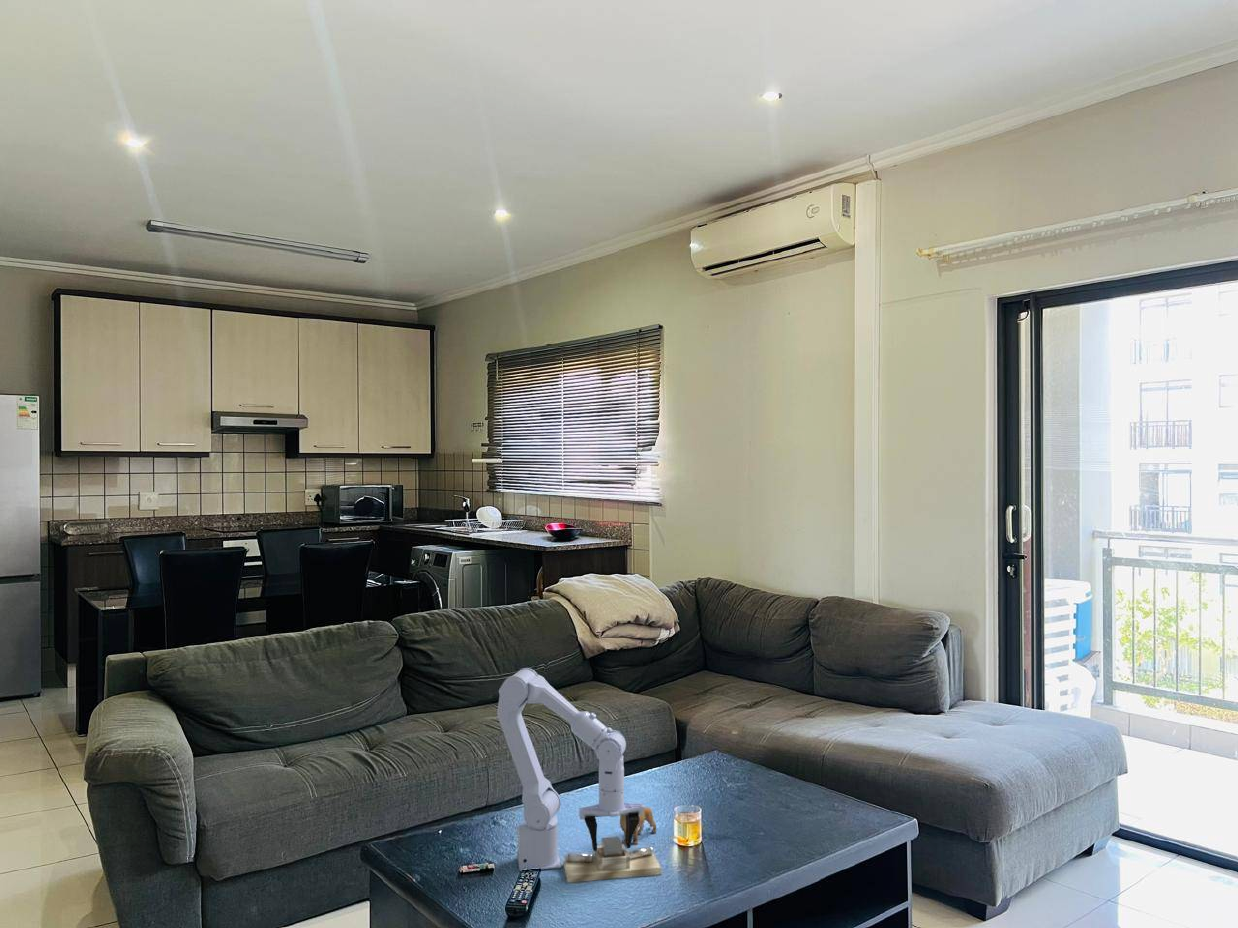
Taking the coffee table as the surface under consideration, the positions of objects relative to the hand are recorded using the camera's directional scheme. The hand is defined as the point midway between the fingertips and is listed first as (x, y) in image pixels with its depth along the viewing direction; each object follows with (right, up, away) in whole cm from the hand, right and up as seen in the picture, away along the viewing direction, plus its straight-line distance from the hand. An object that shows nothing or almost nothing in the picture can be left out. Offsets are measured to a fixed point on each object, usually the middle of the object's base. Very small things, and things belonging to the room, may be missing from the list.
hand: (611, 847), depth 199 cm
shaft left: (-7, -3, +1) cm, 8 cm away
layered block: (0, -3, 0) cm, 3 cm away
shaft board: (0, -5, 0) cm, 5 cm away
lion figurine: (+6, -5, +16) cm, 18 cm away
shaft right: (+7, -3, +3) cm, 8 cm away
